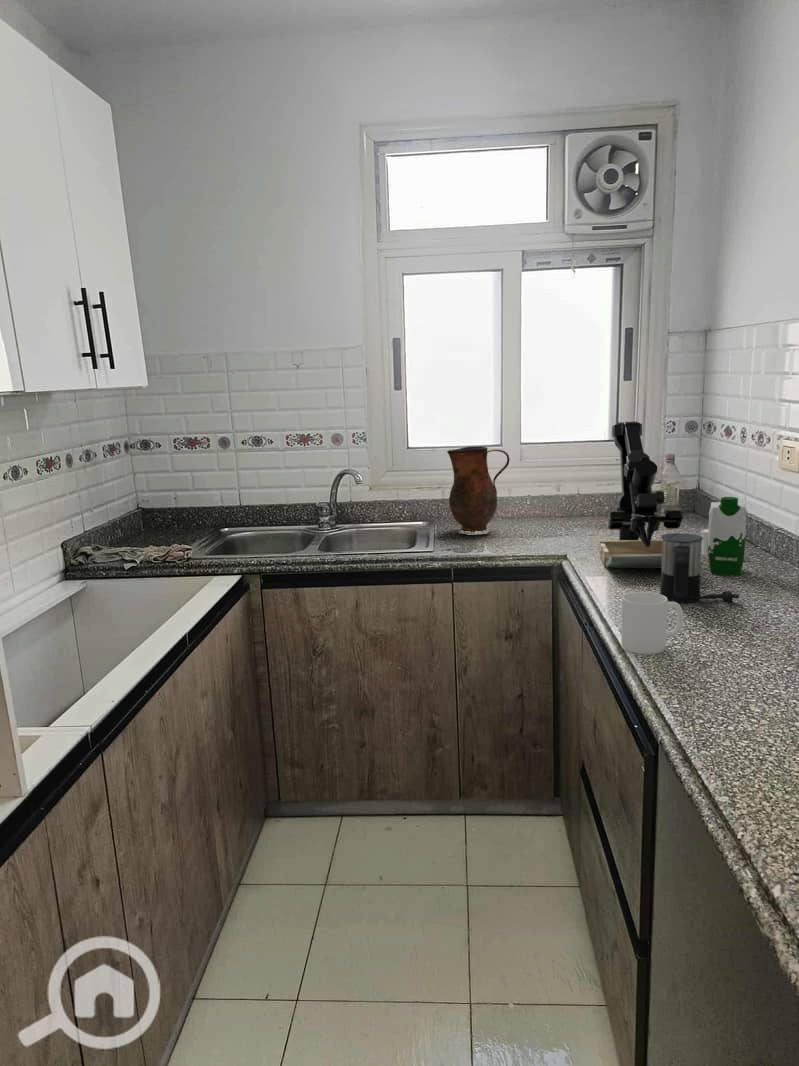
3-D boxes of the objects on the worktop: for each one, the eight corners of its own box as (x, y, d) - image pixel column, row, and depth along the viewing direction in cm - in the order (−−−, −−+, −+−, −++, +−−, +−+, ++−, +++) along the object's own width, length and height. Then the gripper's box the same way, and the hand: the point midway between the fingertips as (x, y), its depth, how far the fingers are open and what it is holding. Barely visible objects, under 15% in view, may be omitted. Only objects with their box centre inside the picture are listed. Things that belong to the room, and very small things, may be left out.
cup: (614, 641, 142) (615, 593, 140) (672, 636, 143) (673, 588, 141) (631, 657, 134) (632, 605, 132) (692, 651, 135) (694, 601, 133)
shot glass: (728, 557, 201) (729, 533, 200) (702, 557, 202) (703, 533, 201) (722, 551, 208) (723, 528, 206) (697, 551, 209) (698, 528, 208)
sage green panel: (605, 561, 196) (611, 555, 183) (683, 561, 192) (694, 554, 180) (605, 568, 195) (611, 562, 183) (683, 567, 192) (695, 561, 180)
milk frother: (654, 592, 173) (655, 533, 170) (720, 590, 172) (723, 530, 169) (673, 610, 159) (675, 546, 156) (745, 608, 158) (749, 544, 155)
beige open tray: (599, 557, 208) (599, 540, 207) (674, 556, 204) (675, 539, 203) (604, 567, 196) (604, 550, 195) (684, 567, 193) (684, 549, 192)
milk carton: (708, 575, 185) (711, 499, 180) (705, 566, 193) (708, 493, 189) (745, 576, 182) (749, 499, 178) (741, 567, 190) (745, 494, 186)
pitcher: (450, 528, 258) (447, 446, 252) (509, 527, 256) (508, 443, 249) (449, 538, 242) (446, 450, 235) (512, 537, 239) (510, 448, 233)
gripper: (610, 481, 191) (614, 531, 183) (682, 480, 188) (690, 530, 180) (606, 504, 200) (610, 552, 192) (675, 503, 197) (682, 551, 189)
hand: (647, 546), depth 188 cm, fingers closed
